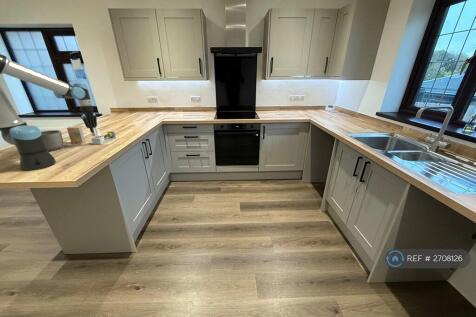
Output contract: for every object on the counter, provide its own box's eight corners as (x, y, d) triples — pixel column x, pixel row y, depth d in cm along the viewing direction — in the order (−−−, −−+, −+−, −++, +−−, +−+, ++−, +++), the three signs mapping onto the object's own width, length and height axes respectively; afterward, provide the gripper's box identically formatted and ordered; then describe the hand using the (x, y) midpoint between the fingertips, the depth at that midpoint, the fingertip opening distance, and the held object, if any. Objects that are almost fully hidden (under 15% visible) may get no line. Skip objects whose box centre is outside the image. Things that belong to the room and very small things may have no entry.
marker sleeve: (102, 142, 157) (99, 130, 153) (96, 141, 157) (93, 130, 154) (104, 141, 160) (102, 130, 156) (99, 140, 160) (96, 129, 157)
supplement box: (71, 143, 156) (66, 127, 152) (74, 142, 161) (69, 126, 156) (83, 143, 159) (78, 127, 154) (85, 141, 163) (81, 126, 158)
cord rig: (101, 144, 155) (99, 137, 152) (92, 144, 155) (90, 137, 153) (117, 138, 173) (116, 131, 170) (109, 137, 173) (107, 131, 171)
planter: (36, 151, 140) (29, 133, 135) (59, 145, 152) (53, 129, 147) (48, 153, 135) (41, 135, 130) (70, 147, 147) (65, 131, 142)
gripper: (83, 106, 137) (92, 138, 146) (97, 104, 149) (105, 134, 158) (73, 106, 138) (83, 138, 147) (88, 104, 150) (96, 133, 159)
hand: (94, 136), depth 152 cm, fingers closed
